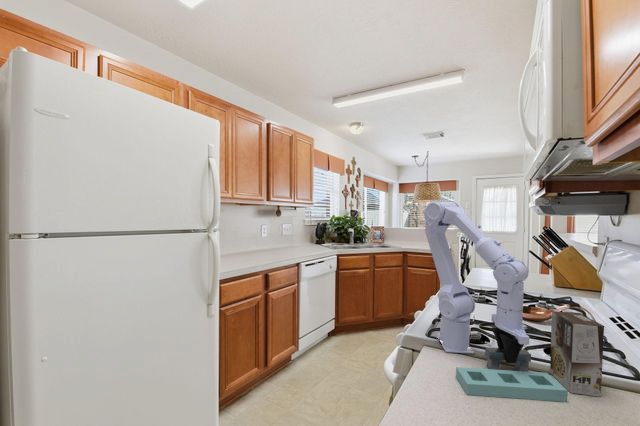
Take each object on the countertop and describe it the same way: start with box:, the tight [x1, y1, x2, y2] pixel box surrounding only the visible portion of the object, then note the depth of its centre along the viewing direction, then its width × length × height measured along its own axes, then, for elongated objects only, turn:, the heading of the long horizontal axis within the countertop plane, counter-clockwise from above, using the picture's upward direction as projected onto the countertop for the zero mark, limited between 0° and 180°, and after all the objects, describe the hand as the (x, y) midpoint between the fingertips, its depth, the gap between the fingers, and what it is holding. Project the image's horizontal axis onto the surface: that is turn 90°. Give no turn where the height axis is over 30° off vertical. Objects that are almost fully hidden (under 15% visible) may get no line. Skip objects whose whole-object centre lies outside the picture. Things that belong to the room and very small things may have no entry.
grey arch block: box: [484, 347, 532, 372], centre depth 79 cm, size 2×10×5 cm, turn 85°
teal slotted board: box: [455, 366, 569, 403], centre depth 71 cm, size 21×7×2 cm, turn 85°
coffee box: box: [549, 310, 605, 397], centre depth 73 cm, size 9×6×16 cm
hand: (507, 359), depth 79 cm, fingers closed on grey arch block, 2 cm apart
